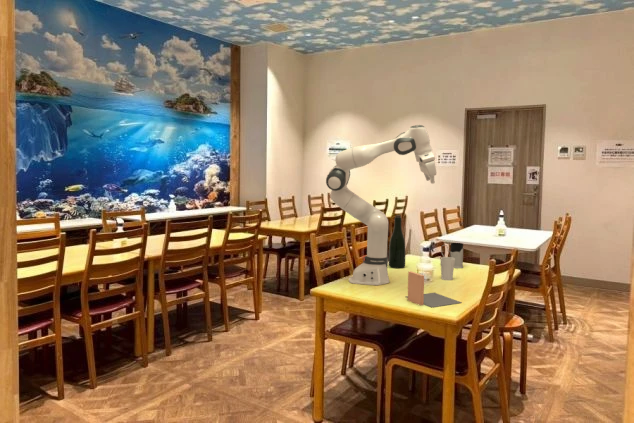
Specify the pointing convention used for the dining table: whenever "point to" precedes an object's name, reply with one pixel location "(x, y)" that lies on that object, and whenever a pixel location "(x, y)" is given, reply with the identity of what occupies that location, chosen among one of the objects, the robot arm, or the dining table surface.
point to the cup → (447, 268)
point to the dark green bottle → (397, 246)
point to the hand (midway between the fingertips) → (430, 181)
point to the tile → (416, 288)
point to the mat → (437, 300)
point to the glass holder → (456, 254)
